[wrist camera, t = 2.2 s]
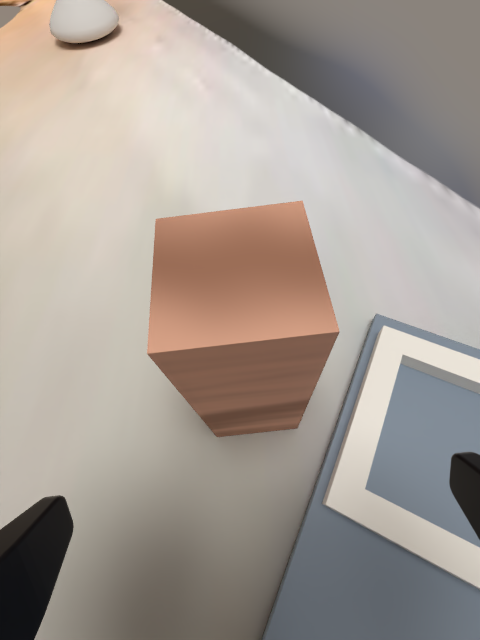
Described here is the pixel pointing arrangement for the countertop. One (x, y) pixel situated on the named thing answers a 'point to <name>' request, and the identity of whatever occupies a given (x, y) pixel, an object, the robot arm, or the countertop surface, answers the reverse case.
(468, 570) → the board
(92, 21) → the flower in vase
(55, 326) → the countertop surface
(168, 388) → the countertop surface
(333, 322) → the terracotta block
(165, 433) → the countertop surface
